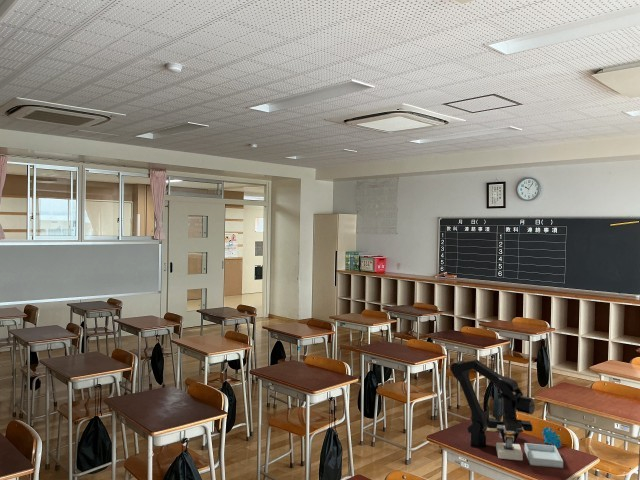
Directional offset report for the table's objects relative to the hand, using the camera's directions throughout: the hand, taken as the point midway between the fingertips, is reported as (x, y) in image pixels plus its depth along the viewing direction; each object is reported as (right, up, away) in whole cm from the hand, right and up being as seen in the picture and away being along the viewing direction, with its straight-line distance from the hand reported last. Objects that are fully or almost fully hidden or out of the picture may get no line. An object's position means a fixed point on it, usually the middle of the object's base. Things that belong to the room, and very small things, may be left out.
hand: (509, 443), depth 233 cm
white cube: (+6, -5, +19) cm, 21 cm away
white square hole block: (0, -5, 0) cm, 5 cm away
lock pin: (0, -5, 0) cm, 4 cm away
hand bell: (+2, -5, +30) cm, 31 cm away
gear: (+24, -5, +10) cm, 26 cm away
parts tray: (+13, -5, -4) cm, 15 cm away
